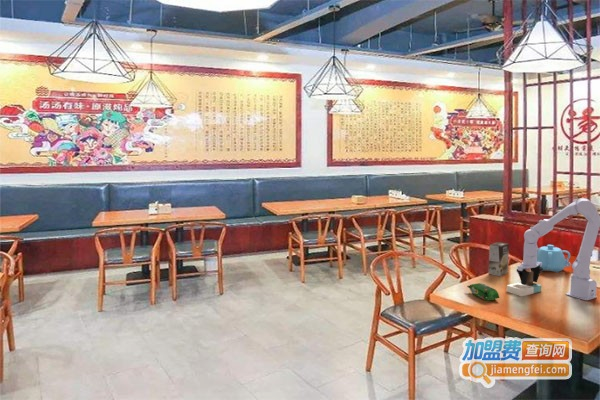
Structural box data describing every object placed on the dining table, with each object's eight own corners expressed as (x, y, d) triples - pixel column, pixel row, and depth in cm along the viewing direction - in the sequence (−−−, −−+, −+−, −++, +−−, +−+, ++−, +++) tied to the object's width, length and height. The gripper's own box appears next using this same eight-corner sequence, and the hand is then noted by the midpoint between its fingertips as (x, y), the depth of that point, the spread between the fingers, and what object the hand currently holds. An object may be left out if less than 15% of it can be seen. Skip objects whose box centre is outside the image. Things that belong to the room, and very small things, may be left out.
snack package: (479, 290, 214) (479, 280, 213) (501, 301, 199) (501, 290, 198) (466, 292, 212) (466, 281, 212) (486, 303, 197) (487, 291, 196)
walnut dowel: (534, 290, 211) (534, 272, 210) (529, 291, 210) (530, 273, 209) (528, 288, 214) (529, 270, 213) (524, 289, 213) (524, 271, 211)
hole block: (541, 291, 210) (541, 285, 209) (521, 296, 204) (522, 290, 203) (525, 286, 217) (526, 280, 216) (506, 291, 211) (506, 285, 210)
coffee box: (500, 276, 234) (500, 246, 231) (488, 273, 238) (489, 244, 236) (508, 272, 239) (509, 243, 237) (496, 270, 244) (497, 241, 242)
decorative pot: (574, 272, 236) (575, 247, 235) (546, 274, 234) (547, 249, 232) (552, 264, 252) (553, 241, 251) (526, 266, 250) (527, 242, 248)
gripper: (532, 251, 216) (531, 278, 218) (512, 255, 210) (511, 283, 212) (546, 254, 210) (545, 282, 212) (525, 258, 204) (524, 287, 206)
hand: (529, 283), depth 211 cm, fingers open, 7 cm apart
